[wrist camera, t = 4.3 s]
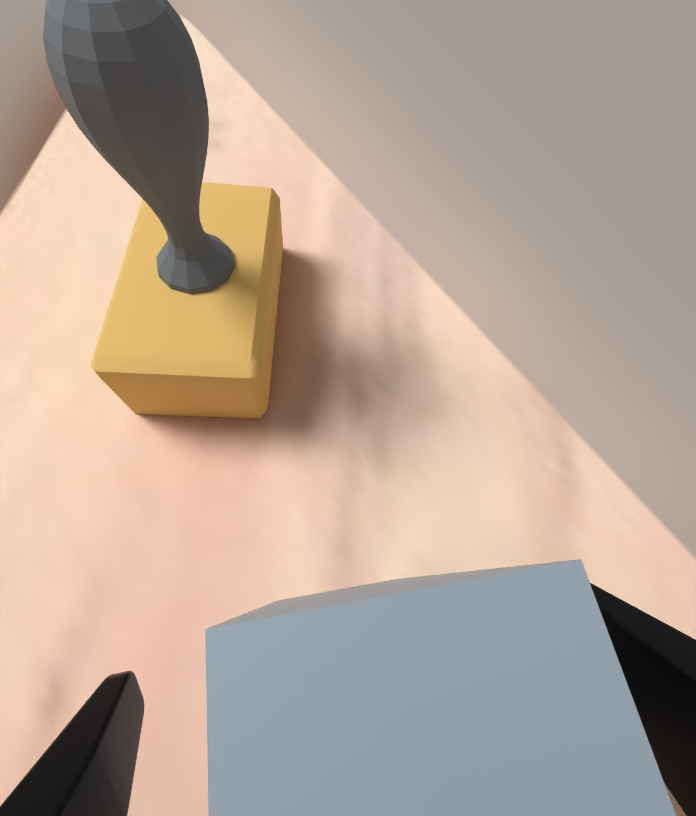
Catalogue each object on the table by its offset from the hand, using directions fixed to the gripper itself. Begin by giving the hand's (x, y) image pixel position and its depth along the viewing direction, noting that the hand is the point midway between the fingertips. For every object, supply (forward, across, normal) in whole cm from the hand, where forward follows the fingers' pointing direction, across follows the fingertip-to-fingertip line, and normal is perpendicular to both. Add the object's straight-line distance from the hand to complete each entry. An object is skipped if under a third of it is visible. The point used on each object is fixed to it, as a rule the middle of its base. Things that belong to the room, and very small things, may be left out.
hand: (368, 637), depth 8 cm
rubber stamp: (+14, +4, -4) cm, 16 cm away
